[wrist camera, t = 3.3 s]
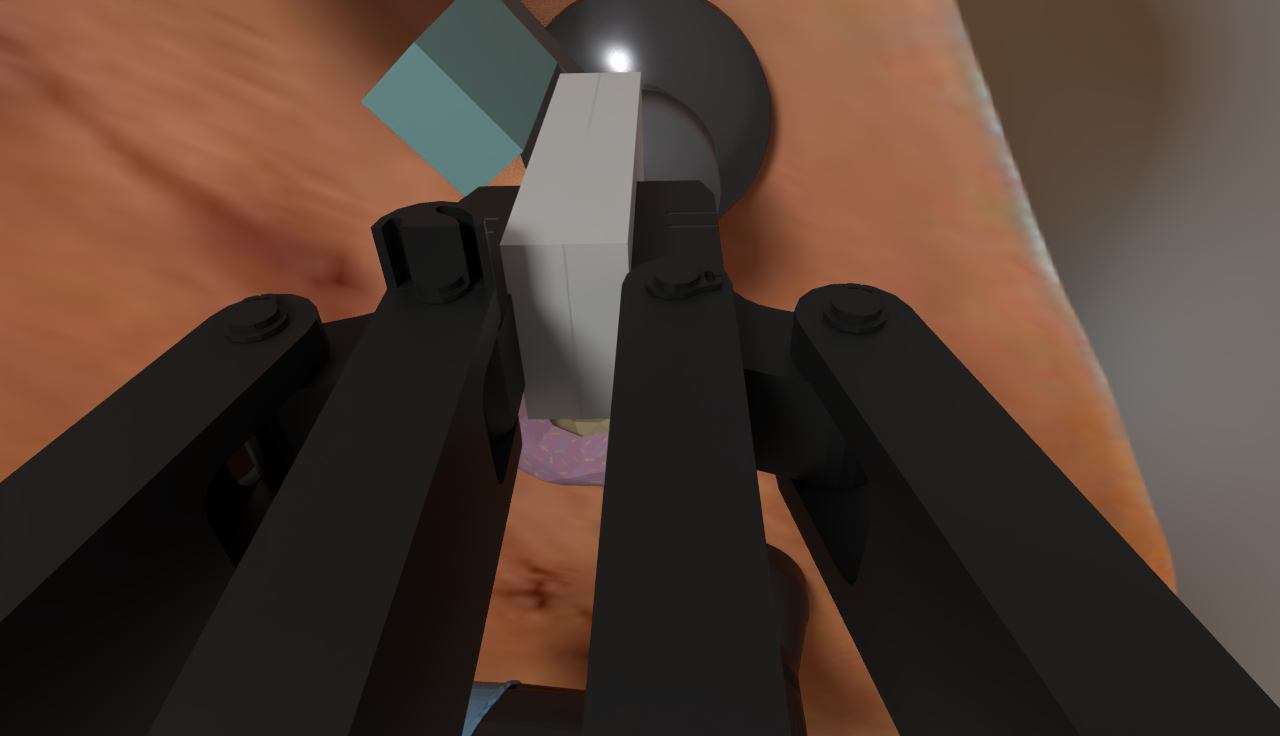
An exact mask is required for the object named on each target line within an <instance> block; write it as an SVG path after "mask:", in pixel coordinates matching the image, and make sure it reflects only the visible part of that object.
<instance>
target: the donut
mask: <svg viewBox="0 0 1280 736" xmlns="http://www.w3.org/2000/svg"><path fill="white" fill-rule="evenodd" d="M518 416H519V421H520V427H521V433H522V450H521V455H520V460H519V465H518V469H520V470H522V471H524V472H526V473H528V474H530V475H532V476H534V477H536V478H538V479H541V480H543V481H545V482H550V483H555V484H560V485H580V486H604V480H605V469H606V458H607V446H608V435H609V424H610V419H528V417H527V411H526V405H525V398H524V392H523V396H522V401H521V405H520V409H519V414H518Z"/></svg>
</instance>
